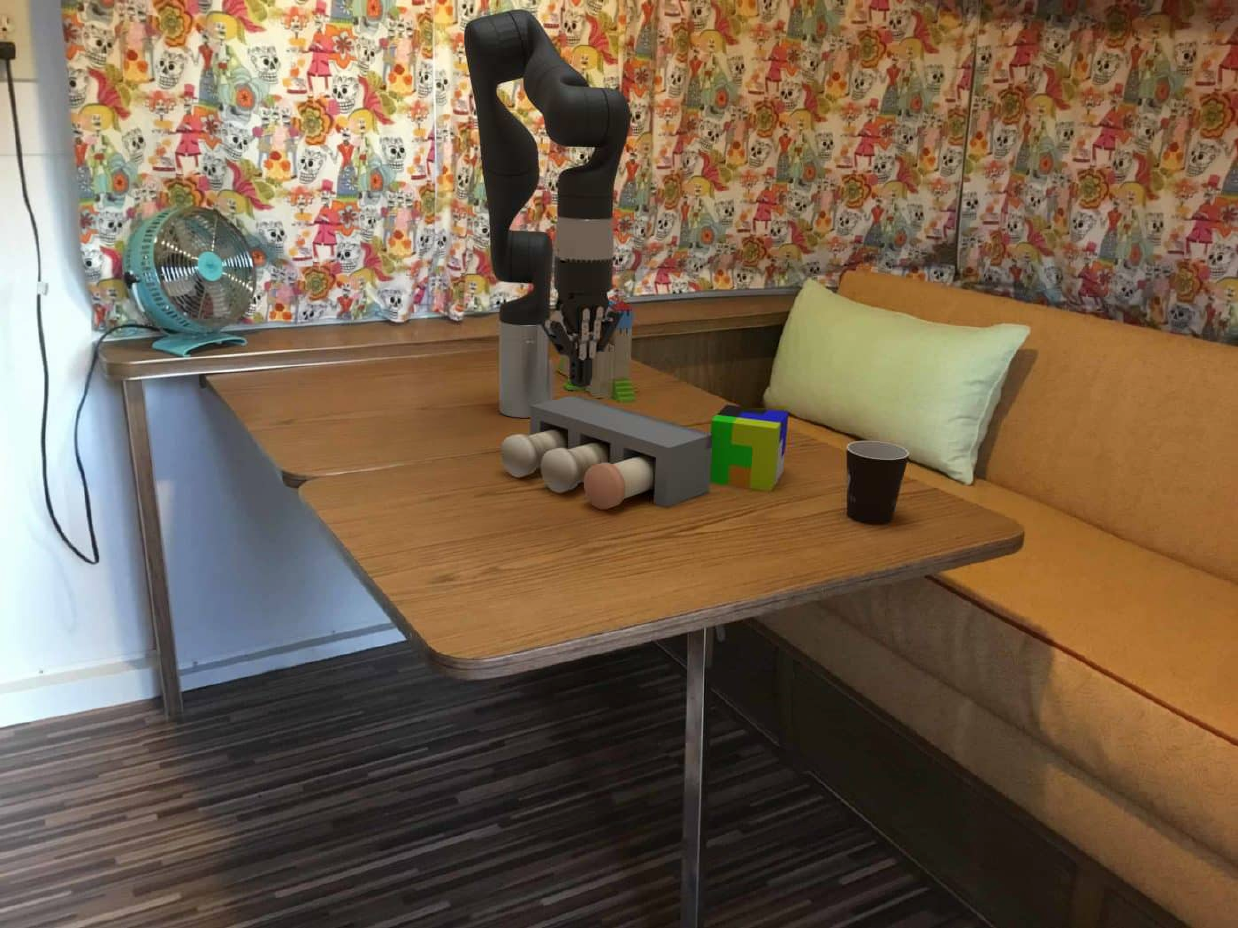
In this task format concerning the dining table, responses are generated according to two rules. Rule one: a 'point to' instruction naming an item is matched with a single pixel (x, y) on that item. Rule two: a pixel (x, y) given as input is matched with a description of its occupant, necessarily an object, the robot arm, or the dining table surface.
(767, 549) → the dining table surface
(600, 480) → the terracotta plug
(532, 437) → the near birch plug
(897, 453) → the coffee mug
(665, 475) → the socket block
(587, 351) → the robot arm
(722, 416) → the puzzle toy
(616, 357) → the toy castle
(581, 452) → the middle birch plug
